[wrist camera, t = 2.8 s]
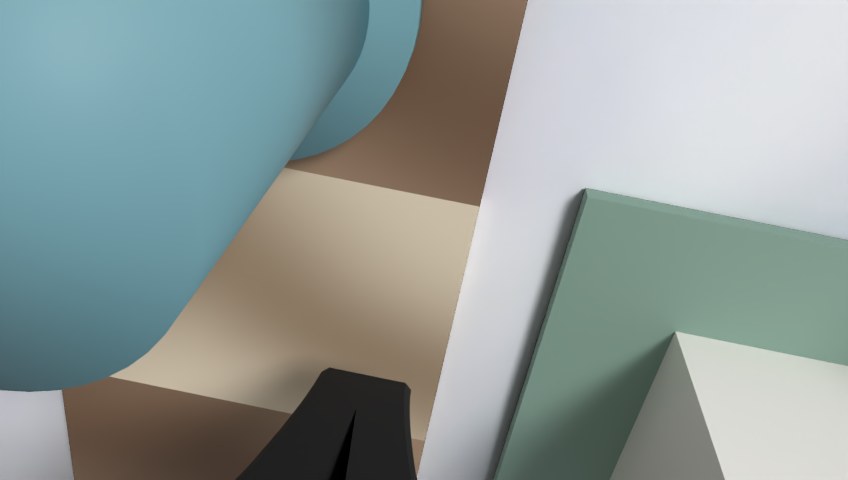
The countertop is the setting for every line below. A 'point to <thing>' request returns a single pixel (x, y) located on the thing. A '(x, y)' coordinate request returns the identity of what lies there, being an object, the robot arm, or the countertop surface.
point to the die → (739, 416)
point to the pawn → (159, 154)
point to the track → (322, 274)
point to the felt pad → (661, 320)
